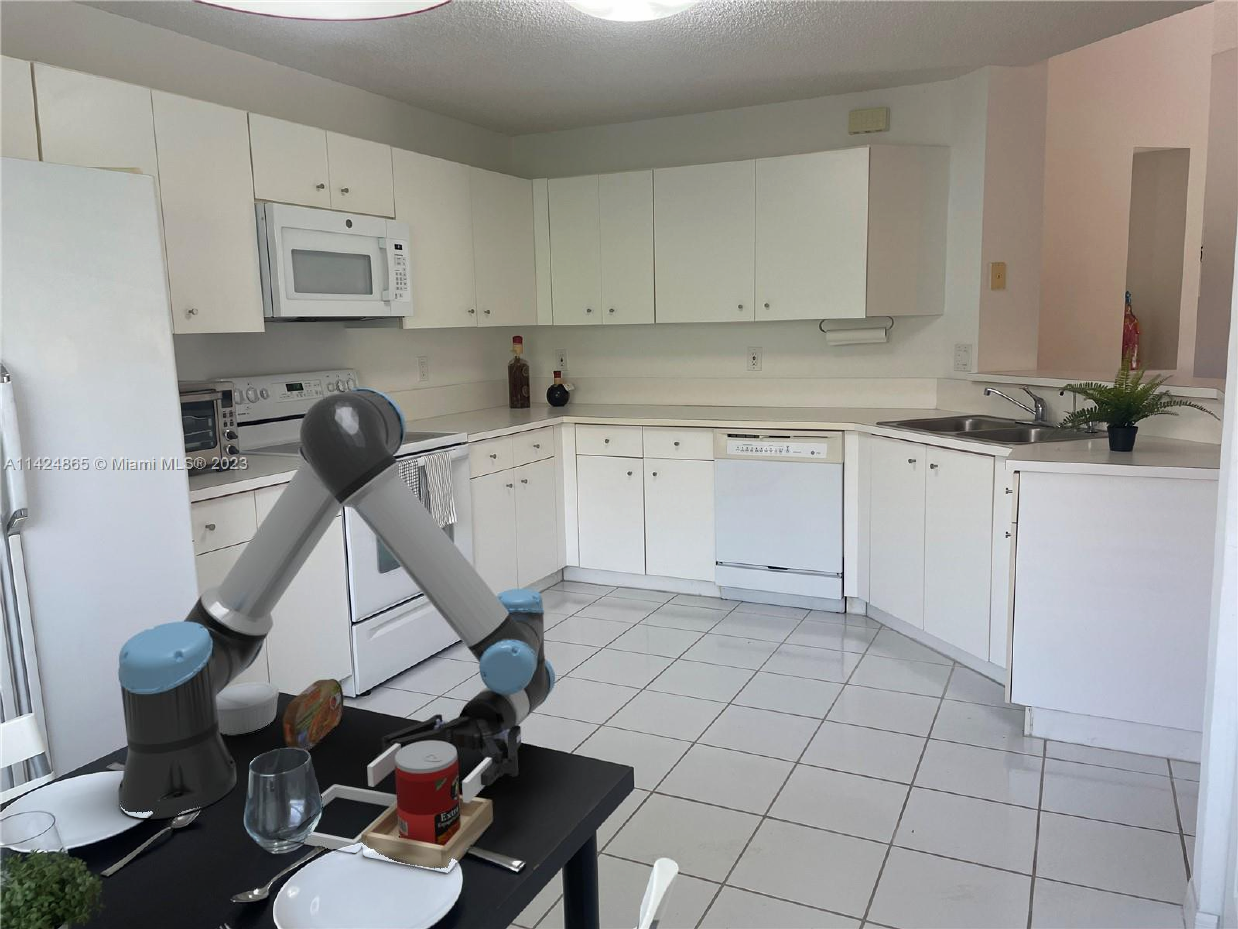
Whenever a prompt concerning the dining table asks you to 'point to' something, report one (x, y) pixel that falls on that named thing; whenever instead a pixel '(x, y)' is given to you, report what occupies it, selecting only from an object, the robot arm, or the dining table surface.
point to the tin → (313, 714)
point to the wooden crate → (425, 854)
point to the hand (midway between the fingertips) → (416, 784)
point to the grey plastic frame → (352, 794)
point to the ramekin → (246, 707)
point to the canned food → (428, 792)
